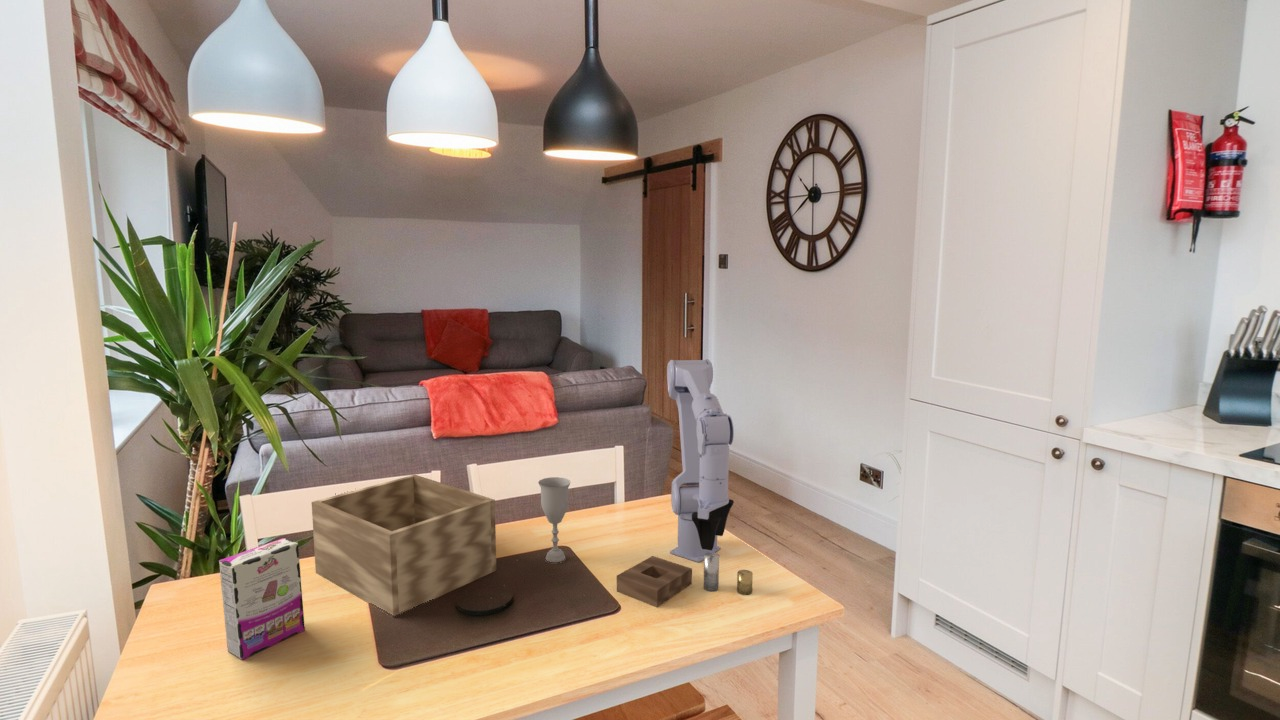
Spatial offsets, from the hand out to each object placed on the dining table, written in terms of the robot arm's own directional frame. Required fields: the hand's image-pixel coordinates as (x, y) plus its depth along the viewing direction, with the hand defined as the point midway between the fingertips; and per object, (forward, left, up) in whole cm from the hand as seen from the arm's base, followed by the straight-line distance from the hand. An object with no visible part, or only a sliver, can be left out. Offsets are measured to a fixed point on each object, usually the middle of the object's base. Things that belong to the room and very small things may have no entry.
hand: (712, 541), depth 134 cm
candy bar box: (+64, -50, -10) cm, 82 cm away
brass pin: (-3, +6, -10) cm, 12 cm away
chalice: (+10, -34, -10) cm, 37 cm away
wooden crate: (+34, -54, -10) cm, 65 cm away
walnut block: (+7, -9, -10) cm, 15 cm away
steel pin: (0, 0, -10) cm, 10 cm away
